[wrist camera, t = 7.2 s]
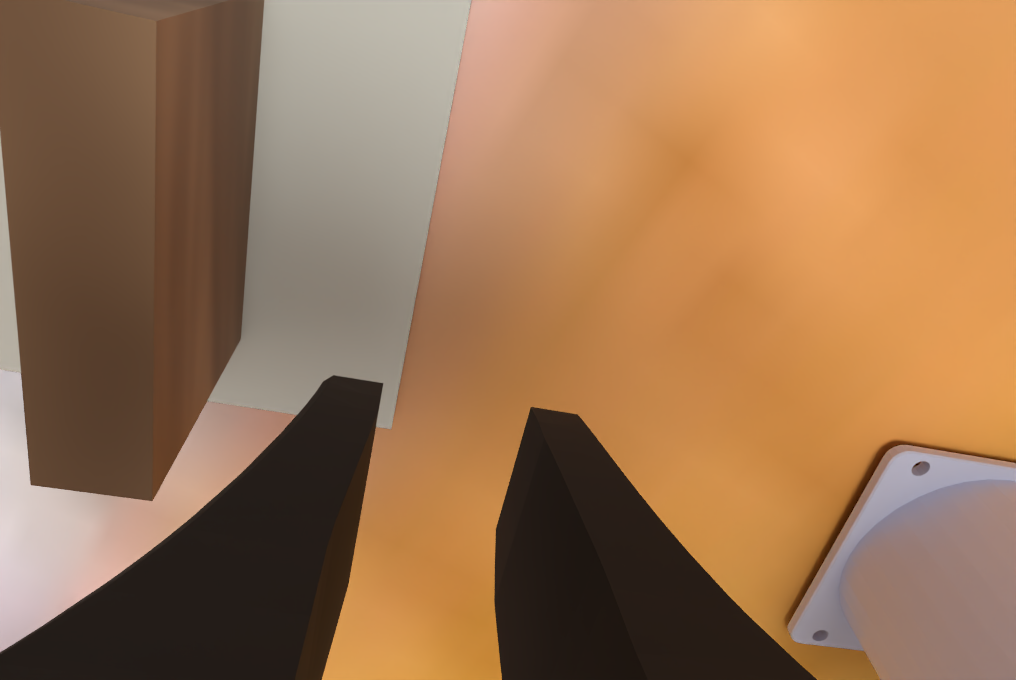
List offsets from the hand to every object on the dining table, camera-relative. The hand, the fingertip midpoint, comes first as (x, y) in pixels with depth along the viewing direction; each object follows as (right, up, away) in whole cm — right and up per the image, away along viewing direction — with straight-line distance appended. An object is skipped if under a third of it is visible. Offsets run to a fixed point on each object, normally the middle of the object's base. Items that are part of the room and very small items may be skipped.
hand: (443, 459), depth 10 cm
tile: (-6, +5, +7) cm, 10 cm away
